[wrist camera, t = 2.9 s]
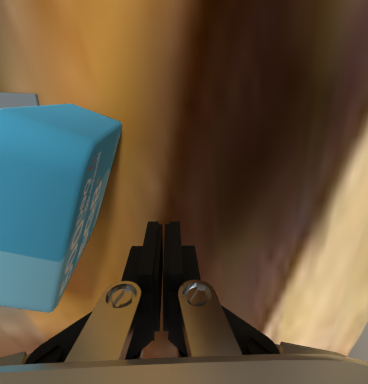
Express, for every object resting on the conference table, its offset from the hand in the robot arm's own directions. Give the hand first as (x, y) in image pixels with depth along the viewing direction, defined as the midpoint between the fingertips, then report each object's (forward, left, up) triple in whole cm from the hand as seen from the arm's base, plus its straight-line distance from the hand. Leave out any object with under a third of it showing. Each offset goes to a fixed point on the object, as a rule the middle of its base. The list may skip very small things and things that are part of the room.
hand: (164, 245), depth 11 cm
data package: (+8, -1, -12) cm, 15 cm away
